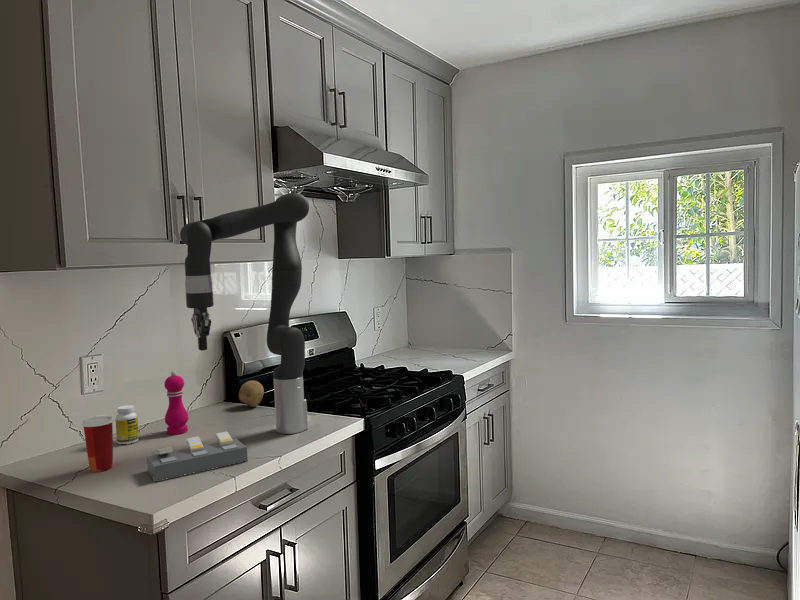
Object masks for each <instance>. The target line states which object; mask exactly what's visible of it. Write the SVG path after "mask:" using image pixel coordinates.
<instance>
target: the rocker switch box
mask: <svg viewBox="0 0 800 600" xmlns="http://www.w3.org/2000/svg"><path fill="white" fill-rule="evenodd" d="M232 439H233V444H231V445H226V446H221V445H220V443H219V442H218V441H215V442H211V443H205V444H203V446H204V450H203V451H198V452H193V453H191V451H190V449H189V447H185V448H181V449H173V452H169V453H164V454H156V453H155V454H150V455H146V464H147V465H146V466H147V467H146V468H147V472H148V471H149V472H148V474H149V475H150V474H151V475H150V476H151V478H152V477H153V478H154V479H153V478H152V479H153V480H155V481H157V480H161V481H163V480H162V479H166V478H170V479H173V478H172V477H175V478H177V477H176V476H179V477H181V476H180V475H184V474H188V475H190V474H189V473H193V472H197V473H199V472H198V471H202V472H204V471H203V470H206V471H209V470H208V469H211V470H213V469H212V468H215V469H217V468H216V467H220V468H222V467H221V466H224V467H226V466H225V465H229V464H233V465H235V464H234V463H238V464H240V463H239V462H242V463H244V462H243V461H247V462H249V461H248V458H249V457H248V446H246V445H245V444H243V442H241V441H240V440H239V439H237V438H232ZM229 466H230V465H229ZM193 474H194V473H193ZM184 476H185V475H184ZM166 480H167V479H166ZM155 481H154V482H155ZM157 482H158V481H157Z"/></svg>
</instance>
